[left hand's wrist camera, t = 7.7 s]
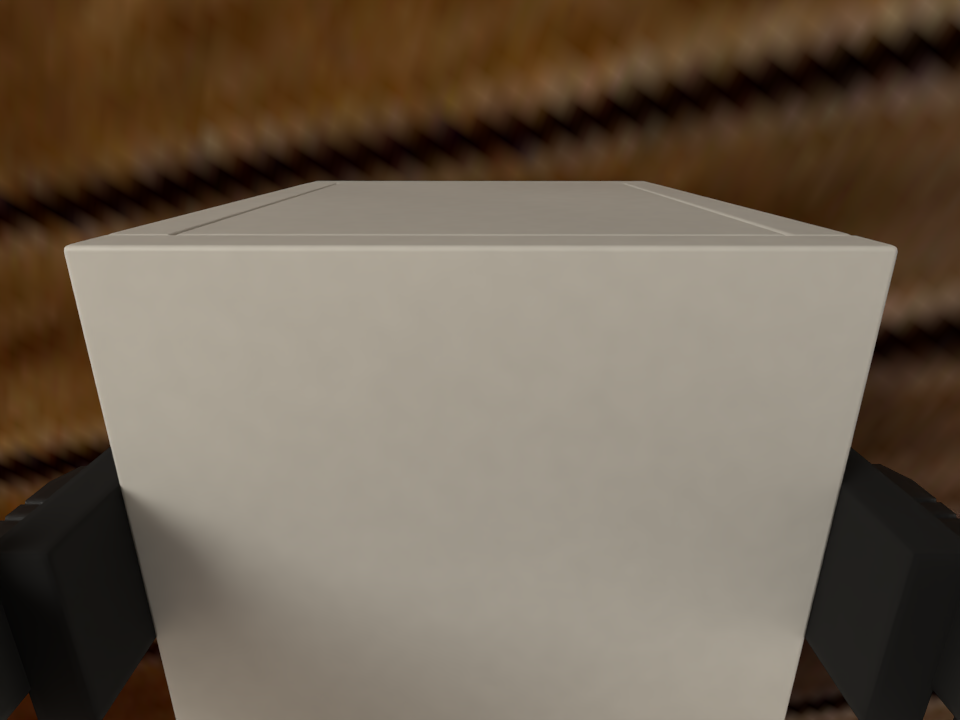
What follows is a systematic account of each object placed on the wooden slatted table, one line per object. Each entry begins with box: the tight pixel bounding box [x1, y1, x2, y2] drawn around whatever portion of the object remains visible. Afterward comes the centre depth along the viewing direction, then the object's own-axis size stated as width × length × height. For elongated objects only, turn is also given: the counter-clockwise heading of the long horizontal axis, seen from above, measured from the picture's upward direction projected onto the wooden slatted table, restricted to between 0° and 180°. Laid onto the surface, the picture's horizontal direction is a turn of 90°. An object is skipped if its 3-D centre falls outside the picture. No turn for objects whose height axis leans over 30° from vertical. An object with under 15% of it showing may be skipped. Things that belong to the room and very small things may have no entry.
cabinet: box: [64, 181, 898, 720], centre depth 16 cm, size 22×10×12 cm, turn 0°
